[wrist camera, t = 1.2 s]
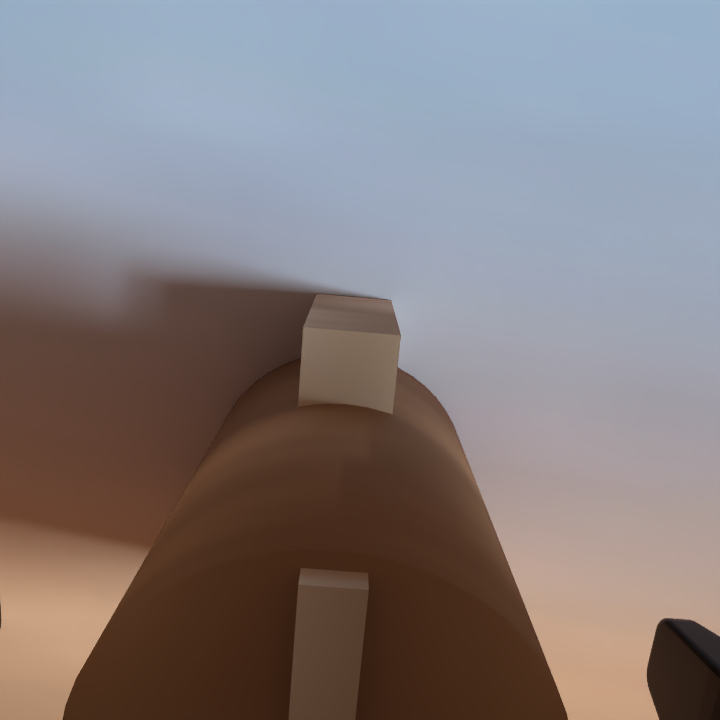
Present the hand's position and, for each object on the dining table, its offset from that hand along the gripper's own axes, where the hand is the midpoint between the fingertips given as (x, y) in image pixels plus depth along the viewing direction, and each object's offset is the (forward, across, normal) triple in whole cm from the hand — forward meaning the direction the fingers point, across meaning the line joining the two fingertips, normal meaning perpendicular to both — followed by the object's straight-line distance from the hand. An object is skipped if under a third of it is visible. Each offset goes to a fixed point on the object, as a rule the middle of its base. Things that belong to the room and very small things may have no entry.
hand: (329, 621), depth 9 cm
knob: (+4, 0, 0) cm, 5 cm away
